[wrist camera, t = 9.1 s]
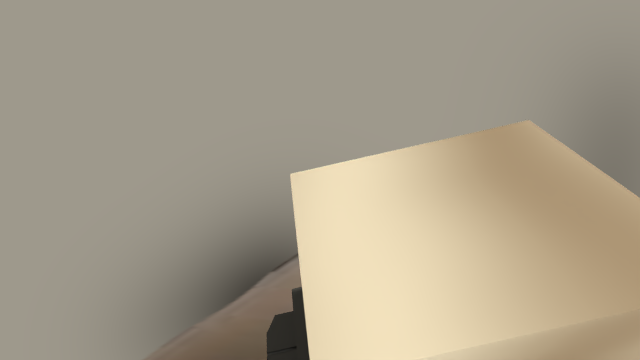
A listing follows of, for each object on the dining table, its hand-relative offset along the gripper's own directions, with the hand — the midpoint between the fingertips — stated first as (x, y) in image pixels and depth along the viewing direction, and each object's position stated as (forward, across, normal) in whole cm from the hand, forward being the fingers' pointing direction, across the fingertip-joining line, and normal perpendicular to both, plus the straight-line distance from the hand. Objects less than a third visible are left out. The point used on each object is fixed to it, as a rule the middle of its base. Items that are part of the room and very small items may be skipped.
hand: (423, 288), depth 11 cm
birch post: (-3, 0, +6) cm, 7 cm away
